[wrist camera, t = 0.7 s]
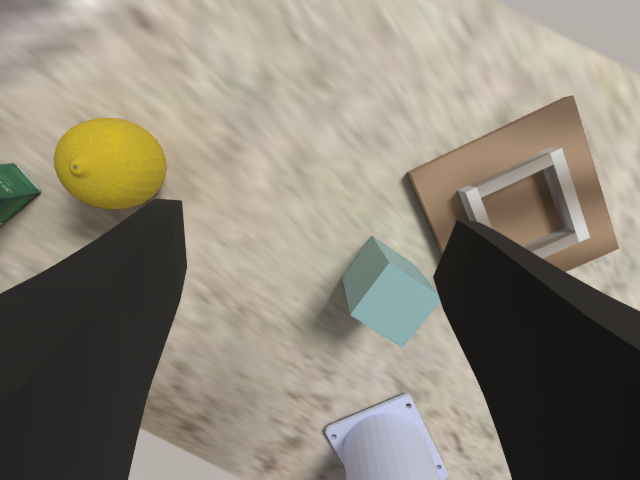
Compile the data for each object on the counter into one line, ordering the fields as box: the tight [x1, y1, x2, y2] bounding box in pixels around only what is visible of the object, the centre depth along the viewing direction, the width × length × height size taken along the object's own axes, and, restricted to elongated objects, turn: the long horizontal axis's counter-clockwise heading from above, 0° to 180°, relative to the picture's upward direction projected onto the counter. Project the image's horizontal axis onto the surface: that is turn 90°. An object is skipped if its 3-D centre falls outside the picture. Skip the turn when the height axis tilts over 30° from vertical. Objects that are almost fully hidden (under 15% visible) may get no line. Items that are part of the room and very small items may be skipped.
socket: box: [407, 96, 619, 272], centre depth 27 cm, size 12×12×2 cm
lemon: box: [54, 118, 167, 209], centre depth 23 cm, size 6×6×8 cm
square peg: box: [342, 236, 440, 348], centre depth 26 cm, size 4×4×7 cm
